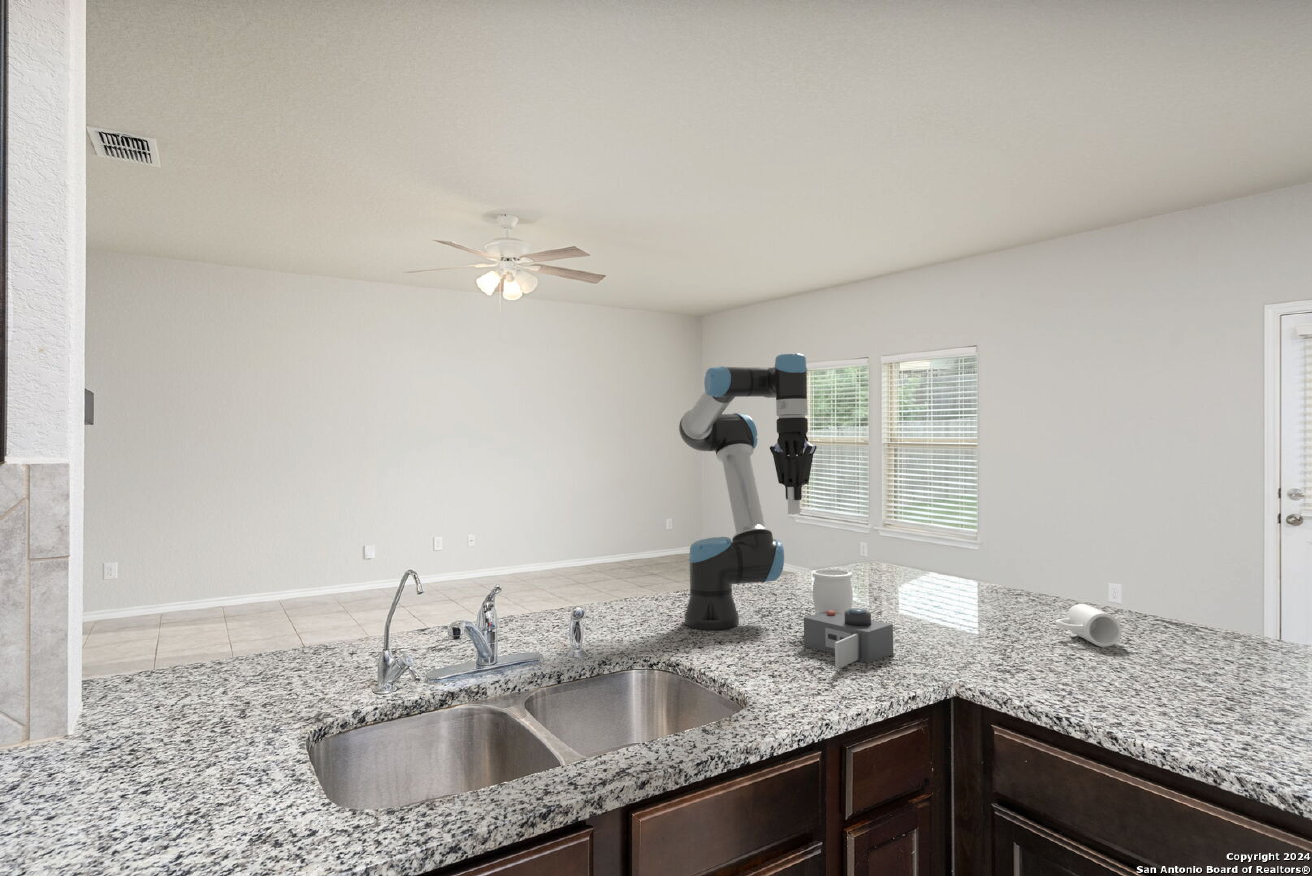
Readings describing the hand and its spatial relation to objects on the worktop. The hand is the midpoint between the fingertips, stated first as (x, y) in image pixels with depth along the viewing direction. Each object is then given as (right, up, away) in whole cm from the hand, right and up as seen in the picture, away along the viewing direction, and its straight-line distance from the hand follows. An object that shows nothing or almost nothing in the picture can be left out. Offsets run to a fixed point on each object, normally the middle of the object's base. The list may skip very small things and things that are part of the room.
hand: (794, 513), depth 164 cm
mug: (+71, -31, 0) cm, 78 cm away
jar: (+14, -33, +15) cm, 38 cm away
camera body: (+12, -32, -4) cm, 35 cm away
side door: (+9, -31, -16) cm, 36 cm away
